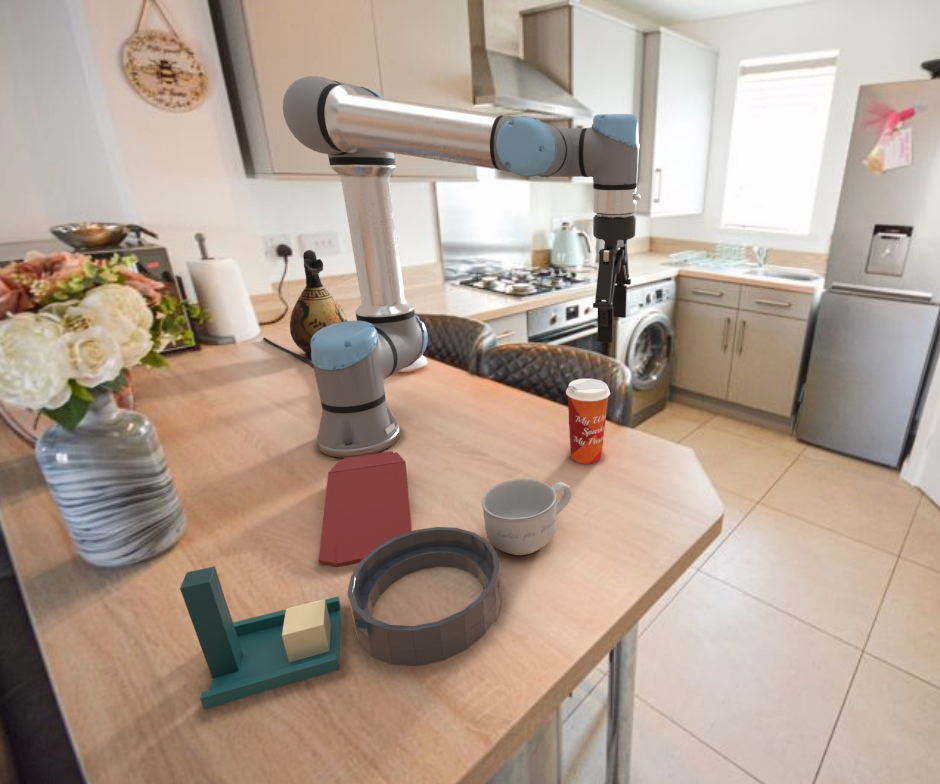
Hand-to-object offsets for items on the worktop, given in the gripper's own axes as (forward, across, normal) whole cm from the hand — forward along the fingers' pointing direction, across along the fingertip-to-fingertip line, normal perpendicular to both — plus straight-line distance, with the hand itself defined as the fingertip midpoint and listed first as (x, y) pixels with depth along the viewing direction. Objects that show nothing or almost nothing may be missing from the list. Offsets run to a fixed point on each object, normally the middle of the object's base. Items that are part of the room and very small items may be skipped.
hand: (612, 328), depth 99 cm
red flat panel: (+20, -39, +31) cm, 54 cm away
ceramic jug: (+26, +25, +93) cm, 100 cm away
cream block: (+16, -63, +22) cm, 69 cm away
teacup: (+20, -38, +4) cm, 43 cm away
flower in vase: (+25, +21, +63) cm, 71 cm away
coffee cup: (+23, -12, +2) cm, 26 cm away
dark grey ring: (+18, -54, +12) cm, 59 cm away
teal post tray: (+17, -65, +24) cm, 71 cm away
